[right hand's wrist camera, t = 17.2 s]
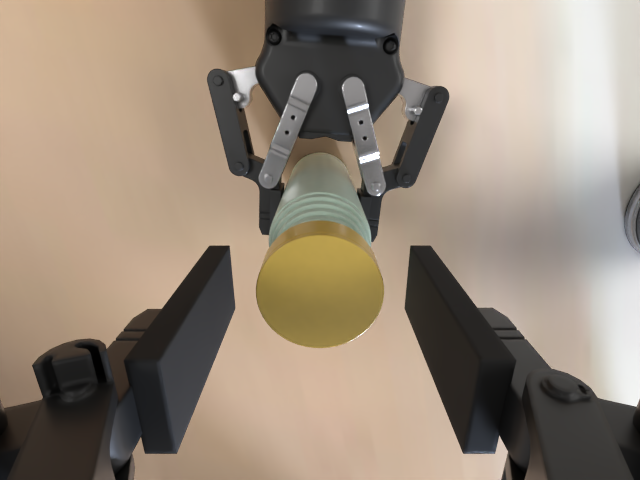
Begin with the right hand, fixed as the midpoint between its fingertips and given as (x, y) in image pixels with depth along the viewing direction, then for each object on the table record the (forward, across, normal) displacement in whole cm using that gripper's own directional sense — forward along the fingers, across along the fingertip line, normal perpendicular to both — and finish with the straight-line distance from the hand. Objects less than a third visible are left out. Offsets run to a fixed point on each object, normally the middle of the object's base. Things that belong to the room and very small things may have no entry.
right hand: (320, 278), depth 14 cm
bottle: (+17, 0, 0) cm, 17 cm away
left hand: (+11, 0, -3) cm, 11 cm away
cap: (-1, 0, 0) cm, 1 cm away
